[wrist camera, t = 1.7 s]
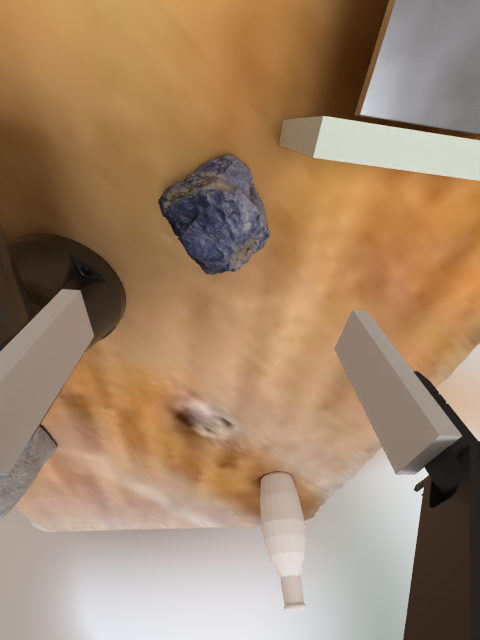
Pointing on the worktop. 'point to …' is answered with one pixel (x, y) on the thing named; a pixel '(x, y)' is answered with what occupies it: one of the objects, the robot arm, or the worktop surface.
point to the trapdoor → (426, 66)
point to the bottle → (284, 534)
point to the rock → (217, 215)
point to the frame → (382, 146)
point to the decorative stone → (25, 470)
